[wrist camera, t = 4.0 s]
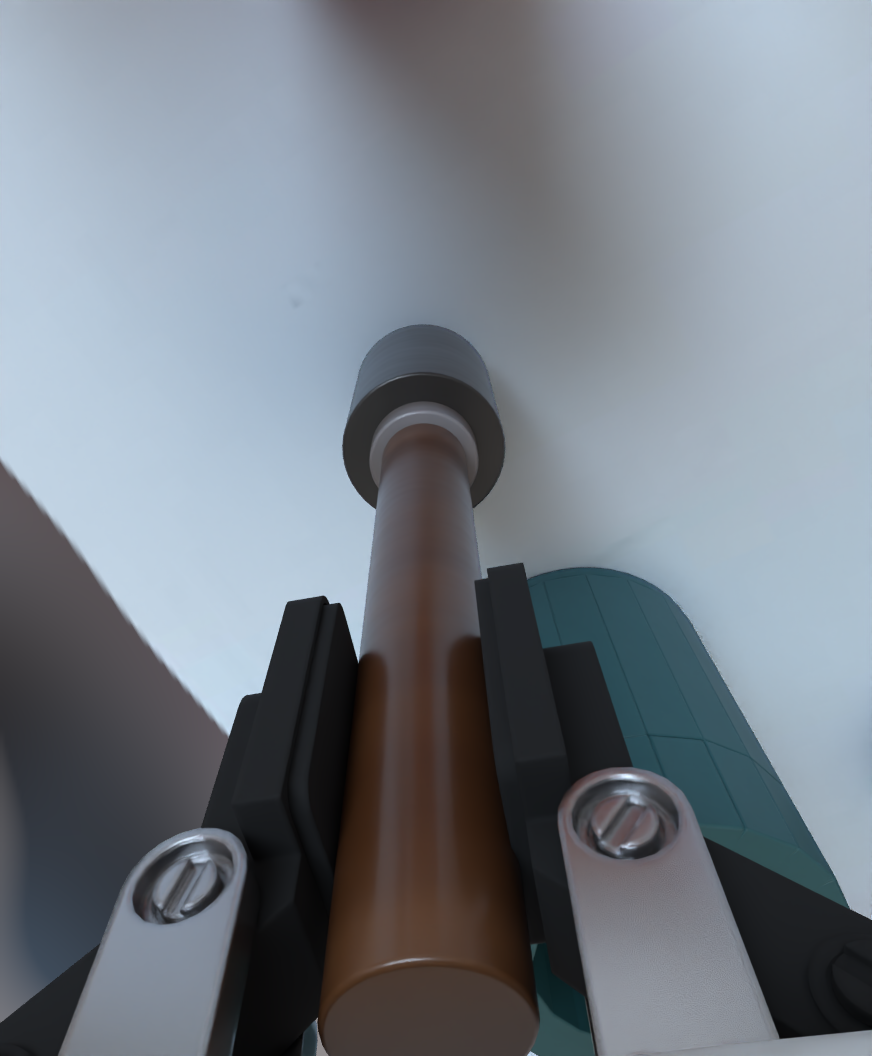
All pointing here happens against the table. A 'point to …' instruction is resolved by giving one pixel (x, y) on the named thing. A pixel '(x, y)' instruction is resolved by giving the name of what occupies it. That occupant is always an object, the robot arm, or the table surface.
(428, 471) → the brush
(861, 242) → the table surface
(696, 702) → the teal hollow cylinder
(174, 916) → the robot arm
